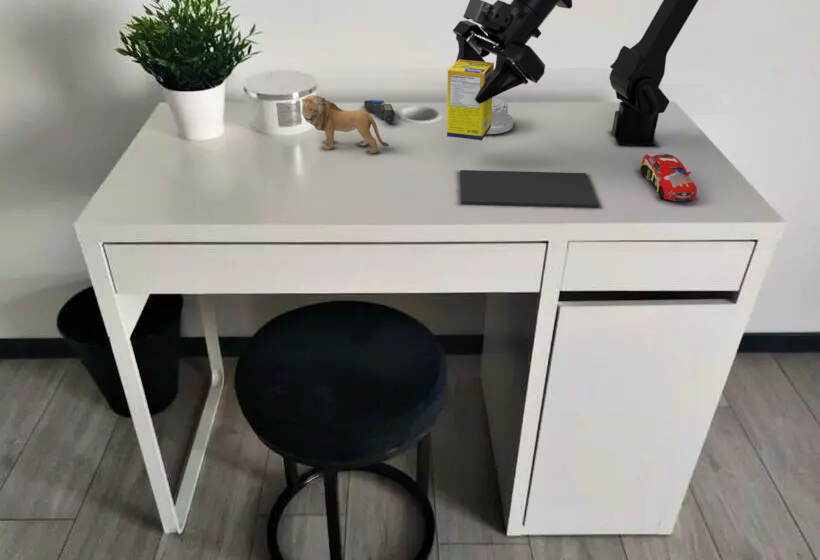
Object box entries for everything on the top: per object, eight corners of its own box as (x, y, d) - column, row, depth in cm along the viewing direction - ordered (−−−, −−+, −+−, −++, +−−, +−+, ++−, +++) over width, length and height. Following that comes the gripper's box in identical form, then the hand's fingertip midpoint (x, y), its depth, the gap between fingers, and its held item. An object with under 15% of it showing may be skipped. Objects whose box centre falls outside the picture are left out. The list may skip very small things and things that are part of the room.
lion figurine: (301, 151, 121) (297, 100, 116) (307, 140, 125) (303, 89, 120) (387, 154, 120) (386, 103, 115) (390, 142, 124) (389, 92, 119)
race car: (699, 205, 105) (705, 181, 103) (663, 206, 105) (668, 181, 103) (669, 168, 116) (674, 145, 114) (636, 168, 116) (641, 145, 114)
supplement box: (491, 128, 117) (494, 61, 111) (482, 141, 112) (485, 72, 106) (456, 124, 118) (458, 58, 112) (446, 137, 114) (447, 69, 108)
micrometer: (363, 97, 139) (388, 96, 140) (363, 106, 140) (388, 105, 141) (370, 117, 129) (397, 116, 130) (370, 127, 130) (397, 126, 131)
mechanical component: (459, 135, 127) (515, 136, 127) (461, 111, 125) (517, 112, 125) (457, 115, 136) (510, 116, 135) (458, 93, 133) (512, 93, 133)
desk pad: (585, 175, 113) (586, 173, 113) (597, 207, 104) (598, 204, 104) (460, 172, 114) (460, 169, 114) (461, 204, 105) (461, 201, 105)
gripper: (465, -34, 111) (403, 47, 113) (535, -13, 97) (463, 79, 99) (504, 13, 118) (445, 88, 120) (574, 39, 104) (506, 123, 106)
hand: (462, 93), depth 111 cm, fingers closed on supplement box, 8 cm apart
